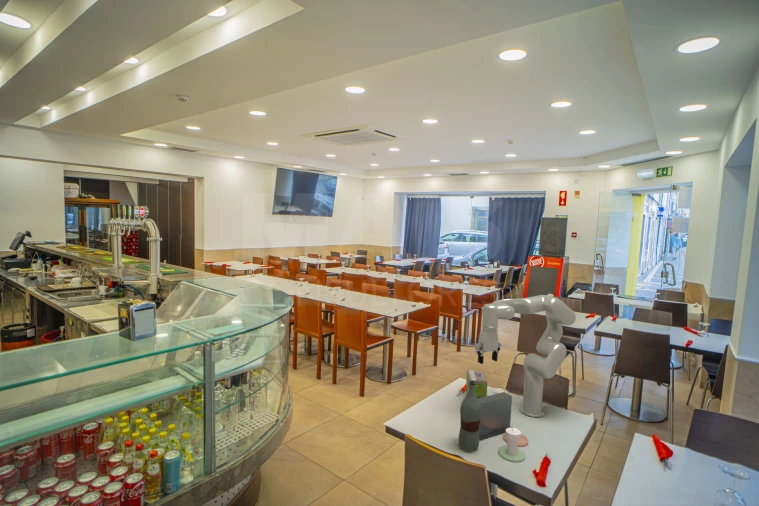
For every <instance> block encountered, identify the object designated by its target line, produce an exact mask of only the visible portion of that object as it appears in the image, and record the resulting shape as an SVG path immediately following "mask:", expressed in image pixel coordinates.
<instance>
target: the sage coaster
mask: <svg viewBox="0 0 759 506" xmlns="http://www.w3.org/2000/svg"><path fill="white" fill-rule="evenodd" d="M498 455H499V457H501V458H502V459H504V461H505V460H506V461H508V462H512V463H522V462H524V461H525V459H526V454H525V452H524V451H523V450H522V449H521V448H520V447H518V449H517V454H516V455H511V454H509V453H508V449H507V445H502V446H500V447H499V448H498Z"/></svg>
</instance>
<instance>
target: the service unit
mask: <svg viewBox="0 0 759 506" xmlns="http://www.w3.org/2000/svg"><path fill="white" fill-rule="evenodd" d="M477 399H478V401H479V402H480V405H481V417H480V424H479V439H480V441H479V442H481V441H484V440H487V439H491V438H494V437H497V436H500V435H504V434H505V433H506V429H507V428H512V426H511V422H512V421H511V420H512V419H511V417H512V405H513V395H511V394H510V393H508V392H505V391H502V392H498V393H495V394H491V395H487V396H486V397H482V398H477Z"/></svg>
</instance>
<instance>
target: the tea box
mask: <svg viewBox="0 0 759 506" xmlns="http://www.w3.org/2000/svg"><path fill="white" fill-rule="evenodd" d="M465 379H466V381H465V397H466V396H467V394H468V393H469V383H470V382H469V381H475V395H476V397H477V398H482V397H486V396H488V380H487V377H486V375H485V372H484V371H483V370H482V371H481V370H480V371H479V370H466V378H465Z"/></svg>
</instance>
